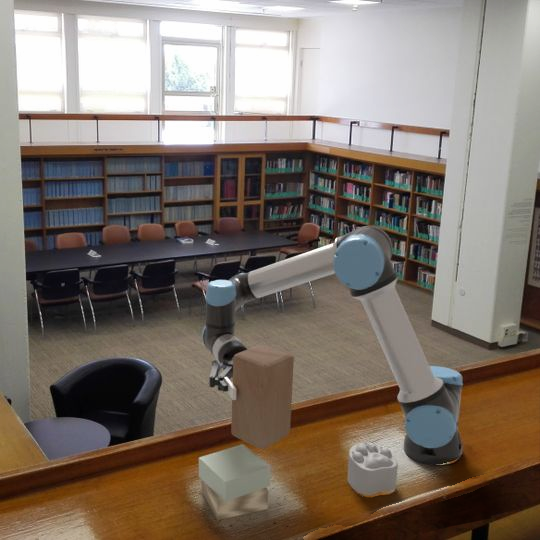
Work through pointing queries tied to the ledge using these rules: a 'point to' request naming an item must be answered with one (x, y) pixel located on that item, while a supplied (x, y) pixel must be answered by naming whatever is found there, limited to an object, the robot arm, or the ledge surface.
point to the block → (262, 395)
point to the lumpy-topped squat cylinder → (371, 469)
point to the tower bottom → (235, 503)
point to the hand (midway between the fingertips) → (262, 390)
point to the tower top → (234, 472)
